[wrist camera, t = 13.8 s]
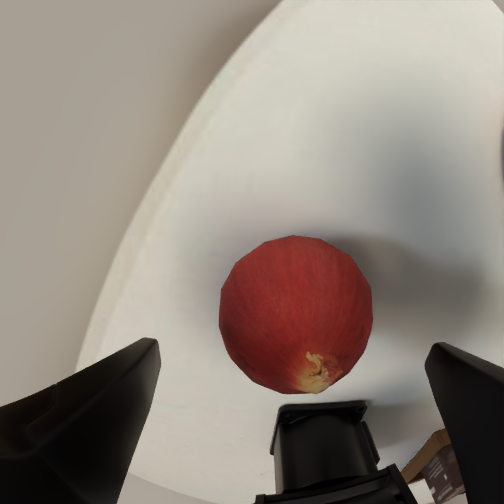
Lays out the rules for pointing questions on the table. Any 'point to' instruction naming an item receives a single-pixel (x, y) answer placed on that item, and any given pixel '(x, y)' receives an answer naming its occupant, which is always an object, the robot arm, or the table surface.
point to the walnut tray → (425, 456)
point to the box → (443, 475)
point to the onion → (296, 314)
